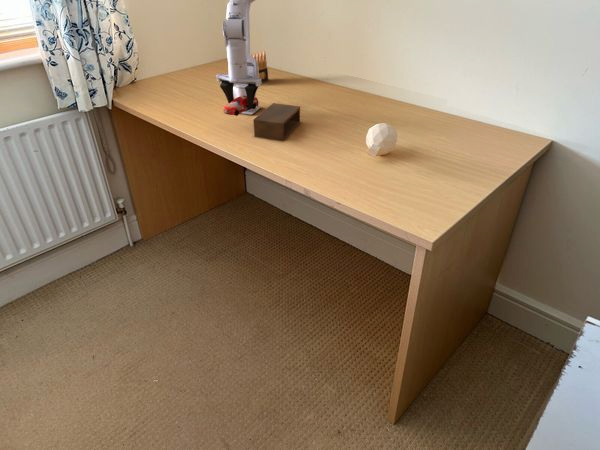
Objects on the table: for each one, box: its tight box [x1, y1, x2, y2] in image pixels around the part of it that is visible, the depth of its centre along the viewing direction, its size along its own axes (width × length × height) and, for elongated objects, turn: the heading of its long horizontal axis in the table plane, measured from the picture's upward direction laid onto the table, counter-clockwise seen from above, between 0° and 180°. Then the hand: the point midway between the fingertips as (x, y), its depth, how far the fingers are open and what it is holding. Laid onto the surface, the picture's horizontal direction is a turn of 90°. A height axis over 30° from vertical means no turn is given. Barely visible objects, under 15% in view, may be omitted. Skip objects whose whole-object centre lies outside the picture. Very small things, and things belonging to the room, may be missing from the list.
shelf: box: [253, 102, 301, 142], centre depth 139 cm, size 10×16×6 cm, turn 160°
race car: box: [223, 96, 259, 117], centre depth 138 cm, size 13×5×4 cm, turn 140°
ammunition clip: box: [250, 50, 269, 83], centre depth 179 cm, size 11×2×12 cm, turn 137°
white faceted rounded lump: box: [365, 122, 398, 158], centre depth 123 cm, size 9×9×12 cm
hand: (240, 106), depth 139 cm, fingers closed on race car, 6 cm apart
